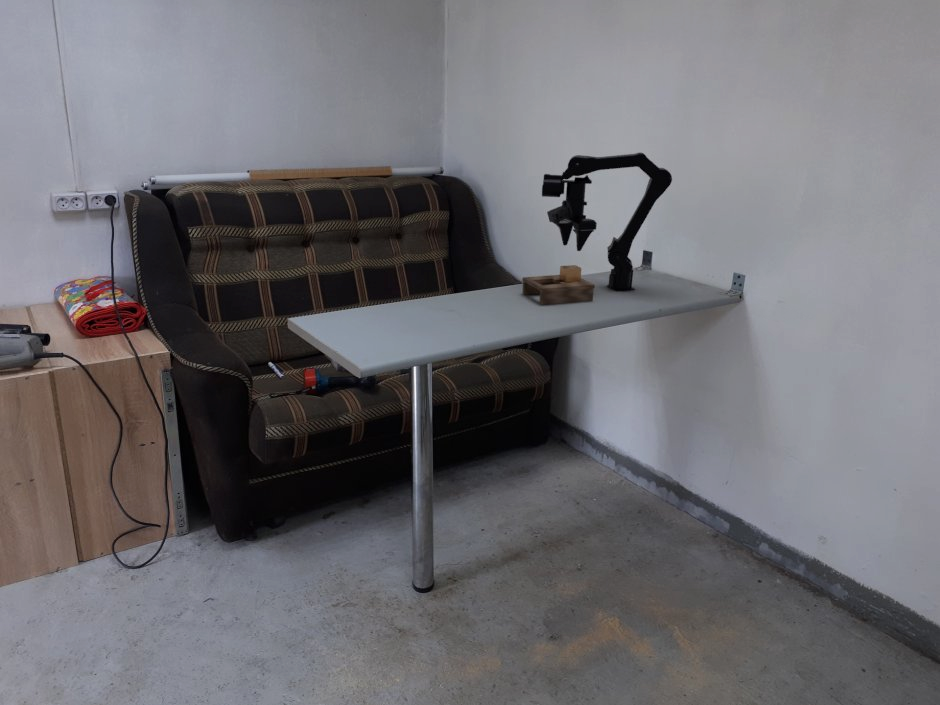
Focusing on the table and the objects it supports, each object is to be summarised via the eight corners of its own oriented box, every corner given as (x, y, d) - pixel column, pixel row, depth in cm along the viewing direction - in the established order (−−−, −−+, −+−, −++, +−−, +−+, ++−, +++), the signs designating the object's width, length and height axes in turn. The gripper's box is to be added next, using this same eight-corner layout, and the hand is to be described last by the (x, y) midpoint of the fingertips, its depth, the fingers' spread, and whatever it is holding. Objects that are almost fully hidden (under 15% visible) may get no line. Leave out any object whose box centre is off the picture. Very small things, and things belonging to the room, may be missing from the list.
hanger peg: (572, 291, 220) (574, 264, 217) (580, 296, 215) (582, 268, 213) (557, 293, 218) (559, 265, 215) (565, 297, 214) (567, 269, 211)
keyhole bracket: (571, 289, 225) (572, 273, 223) (593, 301, 212) (594, 284, 211) (521, 293, 219) (522, 277, 217) (541, 305, 207) (542, 288, 205)
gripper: (538, 194, 226) (535, 243, 231) (566, 202, 209) (562, 255, 215) (569, 193, 230) (566, 242, 235) (599, 201, 213) (595, 253, 218)
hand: (571, 248), depth 226 cm, fingers open, 9 cm apart
